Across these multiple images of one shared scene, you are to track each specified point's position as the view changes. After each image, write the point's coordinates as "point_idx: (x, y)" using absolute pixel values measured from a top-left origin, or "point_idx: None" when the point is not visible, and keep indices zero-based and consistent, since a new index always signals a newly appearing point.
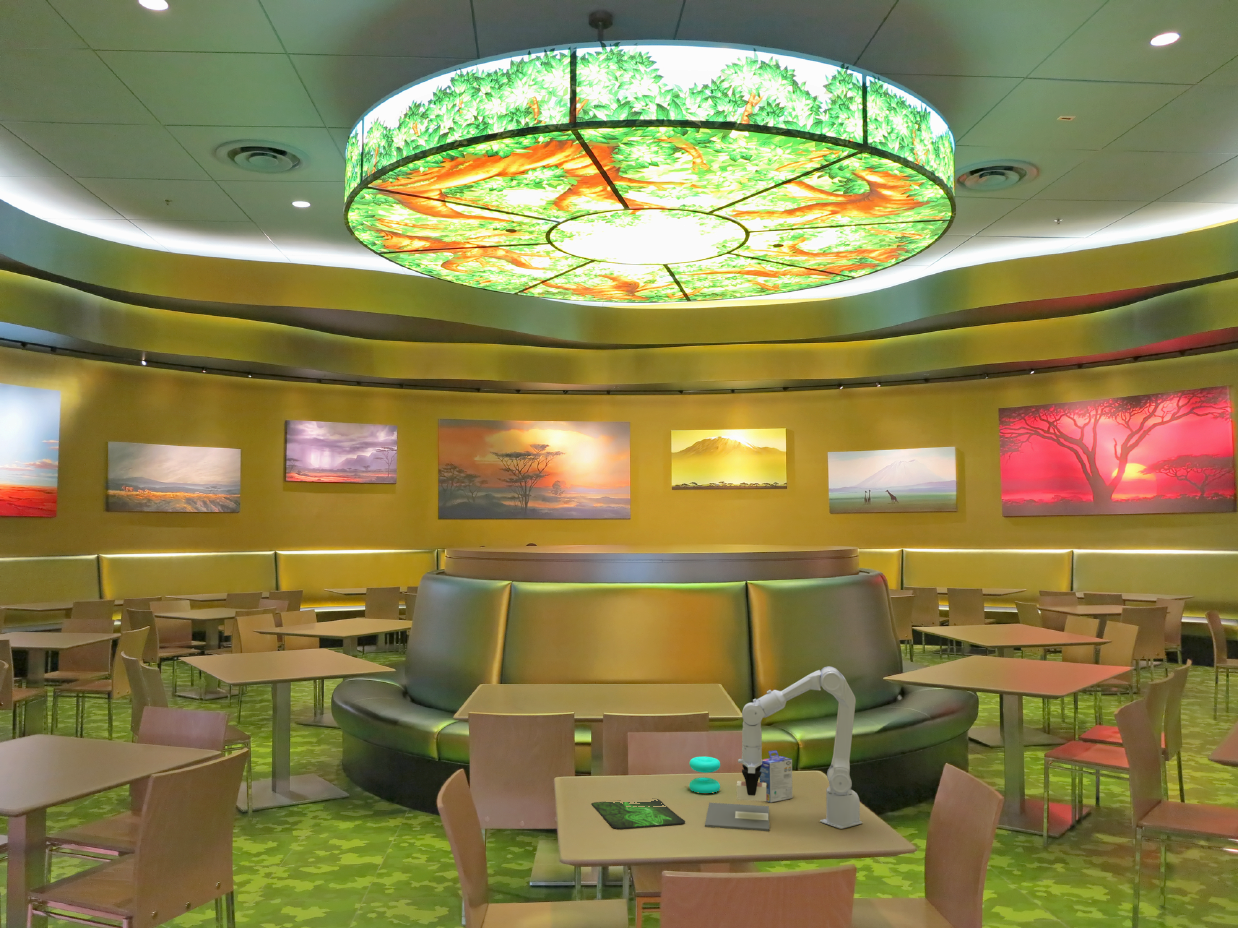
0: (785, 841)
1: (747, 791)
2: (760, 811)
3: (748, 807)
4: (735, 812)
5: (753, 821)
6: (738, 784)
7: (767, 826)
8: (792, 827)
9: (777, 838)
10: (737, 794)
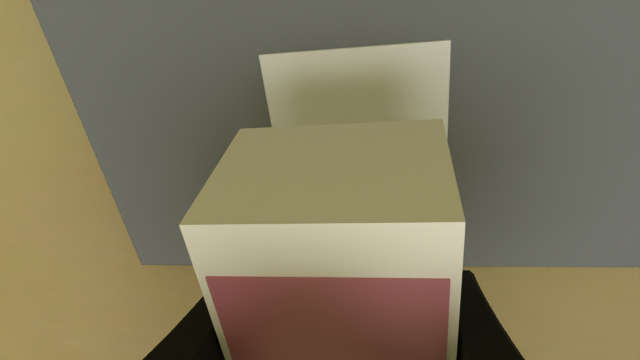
0: (41, 311)
1: None
2: (490, 219)
3: (601, 134)
4: (425, 40)
5: None
6: (252, 242)
7: (179, 255)
8: None
9: (58, 285)
10: (226, 163)
